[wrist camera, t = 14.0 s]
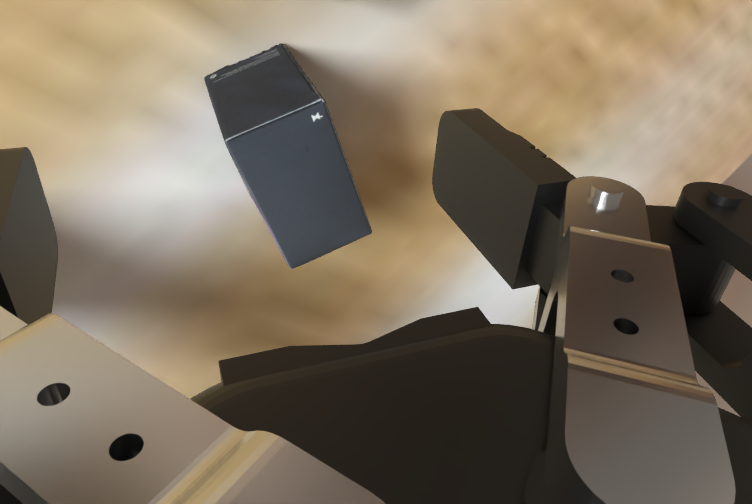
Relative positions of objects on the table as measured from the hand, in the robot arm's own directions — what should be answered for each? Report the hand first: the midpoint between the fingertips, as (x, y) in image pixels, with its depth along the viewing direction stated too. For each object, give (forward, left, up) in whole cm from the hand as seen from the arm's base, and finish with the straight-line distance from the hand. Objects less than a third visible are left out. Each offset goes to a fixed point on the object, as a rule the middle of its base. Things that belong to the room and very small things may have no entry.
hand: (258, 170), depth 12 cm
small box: (-12, -6, -30) cm, 33 cm away
